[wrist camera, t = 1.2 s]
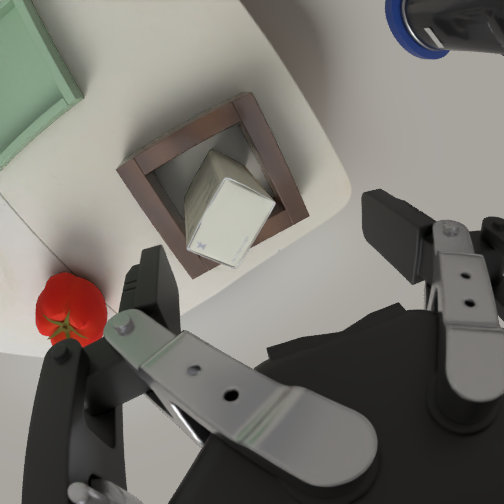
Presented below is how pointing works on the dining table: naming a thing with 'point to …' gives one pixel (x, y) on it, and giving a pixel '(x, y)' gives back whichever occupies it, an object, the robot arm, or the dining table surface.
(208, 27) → the dining table surface
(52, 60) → the tray
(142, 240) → the dining table surface
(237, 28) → the dining table surface
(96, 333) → the tomato
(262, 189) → the cosmetic box
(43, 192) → the dining table surface
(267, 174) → the wooden square frame
